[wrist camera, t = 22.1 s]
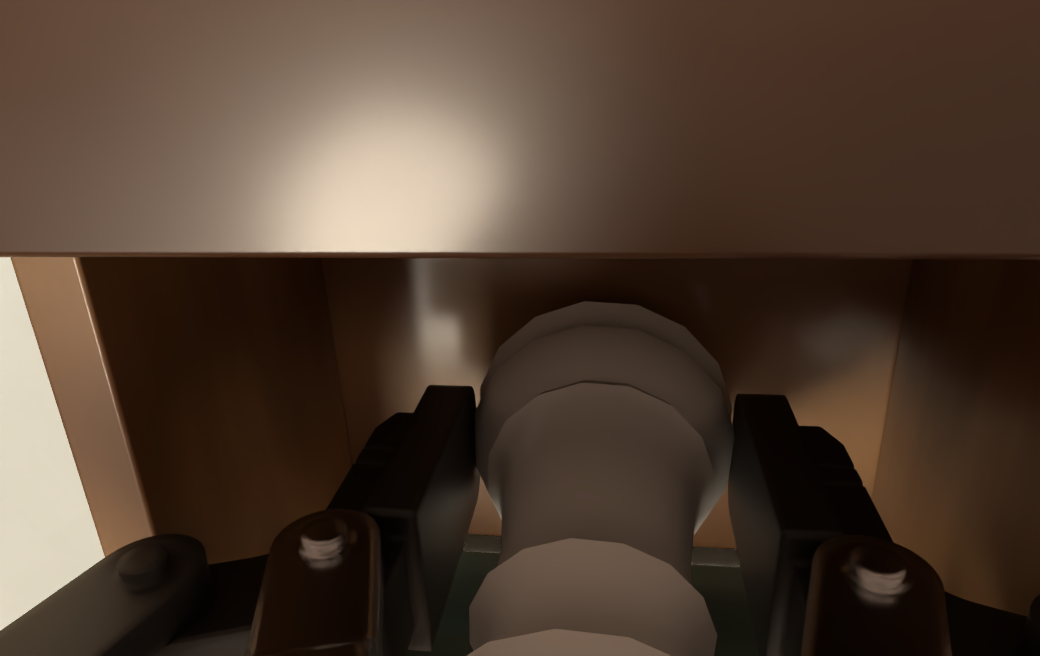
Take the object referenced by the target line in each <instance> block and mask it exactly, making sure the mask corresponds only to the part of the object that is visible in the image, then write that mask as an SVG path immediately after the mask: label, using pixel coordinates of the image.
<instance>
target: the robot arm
mask: <svg viewBox="0 0 1040 656" xmlns="http://www.w3.org/2000/svg"><path fill="white" fill-rule="evenodd" d="M475 411H476V399H475V392H474V389H473V387H472V386H455V385H429V386H428V387H427V388H426V390H425V392H424V394H423V396H422V398H421V400H420V401H419V403H418V405H417V407H416V409H415V411H414V413H407V412H397V413H395V414H394V415H393V416H391V417H390V418H388V419H387V420H386V421H384V422H383V423H381V424H380V425H379V426H377V427H376V428H375V430H374V431H373V433H372V435H371V436H370V438H369V440H368V441H367V443H366V444H365V449H362V451H361V453H360V454H359V456H358V458H357V459H356V464H353V466H352V467H351V469H350V471H349V472H348V474H347V476H346V477H345V479H344V481H343V482H342V484H341V486H340V487H339V489H338V490H337V492H336V494H335V495H334V497H333V499H332V500H331V502H330V504H329V505H328V507H327V509H326V510H322V511H318V512H315V513H311V514H309V515H306V516H303V517H301V518H299V519H297V520H295V521H294V522H292V523H291V524H289V525H288V526H286V527H285V528H284V529H283V530H282V531H281V532H280V533H279V534H278V535H277V536H276V538H275V539H274V541H273V542H272V545H271V547H270V551H269V554H265V555H261V556H257V557H252V558H246V559H240V560H234V561H228V562H222V563H216V564H210V565H209V564H208V560H207V556H206V552H205V548H204V546H203V545H202V543H201V542H200V541H198V540H197V539H195V538H193V537H191V536H187V535H183V534H163V535H156V536H152V537H147V538H144V539H141V540H138V541H135V542H132V543H130V544H128V545H125V546H123V547H122V548H120V549H118V550H116V551H114V552H113V553H111V554H110V555H108V556H107V557H105V558H104V559H102V560H101V561H99V562H98V563H97V564H95V565H94V566H92V567H91V568H89V569H88V570H87V571H85V572H84V573H82V574H81V575H79V576H78V577H77V578H75V579H74V580H72V581H71V582H69V583H68V584H67V585H65V586H64V587H62V588H61V589H59V590H58V591H57V592H55V593H54V594H52V595H51V596H50V597H48V598H47V599H45V600H44V601H42V602H41V603H40V604H38V605H37V606H35V607H34V608H32V609H31V610H30V611H28V612H27V613H25V614H24V615H22V616H21V617H20V618H18V619H17V620H15V621H14V622H12V623H11V624H10V625H8V626H7V627H5V628H4V629H2V630H1V631H0V656H406V653H407V650H417V651H431V652H432V648H433V645H434V642H435V638H436V635H437V632H438V629H439V625H440V622H441V619H442V615H443V612H444V609H445V606H446V602H447V599H448V596H449V592H450V589H451V586H452V583H453V579H454V576H455V573H456V569H457V566H458V563H459V560H460V556H461V553H462V550H463V546H464V543H465V540H466V537H467V533H468V530H469V527H470V523H471V520H472V517H473V514H474V510H475V507H476V504H477V500H478V494H479V486H480V473H479V471H478V469H477V466H476V453H475ZM732 425H733V428H734V444H733V451H732V458H731V465H730V471H729V478H728V505H729V514H730V519H731V524H732V529H733V533H734V538H735V543H736V548H737V553H738V557H739V562H740V567H741V572H742V577H743V581H744V586H745V591H746V596H747V601H748V605H749V610H750V615H751V620H752V624H753V629H754V634H755V639H756V644H757V648H758V653H759V656H1040V594H1039V595H1038V596H1037V597H1036V598H1035V599H1034V600H1033V602H1032V604H1031V606H1030V609H1029V613H1028V616H1027V617H1026V616H1023V615H1019V614H1015V613H1012V612H1008V611H1004V610H1000V609H997V608H993V607H989V606H986V605H982V604H978V603H975V602H972V601H968V600H965V599H962V598H960V597H957V596H955V595H952V594H950V593H948V592H946V591H944V586H943V582H942V580H941V578H940V576H939V575H938V573H937V572H936V571H935V569H934V568H933V567H932V566H931V565H930V564H929V563H928V562H927V561H926V560H924V559H923V558H922V557H920V556H919V555H918V554H916V553H914V552H913V551H911V550H909V549H907V548H905V547H903V546H901V545H899V544H896V543H894V542H893V540H892V538H891V536H890V534H889V532H888V530H887V529H886V527H885V525H884V523H883V521H882V519H881V517H880V515H879V513H878V511H877V509H876V507H875V505H874V503H873V501H872V499H871V497H870V495H869V493H868V491H867V489H866V487H863V482H862V480H861V478H860V476H859V474H858V472H857V470H856V469H854V464H853V462H852V460H851V458H850V456H849V454H848V452H847V450H846V448H845V446H844V445H843V444H842V443H841V442H840V441H838V440H837V439H836V438H835V437H833V436H832V435H831V434H829V433H828V432H827V431H826V430H824V429H823V428H822V427H821V426H799V425H798V423H797V420H796V418H795V416H794V413H793V411H792V409H791V406H790V404H789V402H788V399H787V397H786V396H785V395H769V394H737V395H736V398H735V403H734V413H733V424H732Z"/></svg>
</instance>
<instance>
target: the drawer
mask: <svg viewBox="0 0 1040 656" xmlns="http://www.w3.org/2000/svg"><path fill="white" fill-rule="evenodd" d="M11 260H12V264H13V267H14V270H15V273H16V276H17V279H18V283H19V286H20V289H21V292H22V295H23V298H24V302H25V305H26V308H27V311H28V314H29V317H30V321H31V324H32V327H33V330H34V333H35V336H36V340H37V343H38V346H39V349H40V352H41V355H42V359H43V362H44V365H45V368H46V371H47V374H48V378H49V381H50V384H51V387H52V390H53V393H54V397H55V400H56V403H57V406H58V409H59V412H60V416H61V419H62V422H63V425H64V428H65V431H66V435H67V438H68V441H69V444H70V447H71V450H72V454H73V457H74V460H75V463H76V466H77V470H78V473H79V476H80V479H81V482H82V485H83V489H84V492H85V495H86V498H87V501H88V504H89V508H90V511H91V514H92V517H93V520H94V523H95V527H96V530H97V533H98V536H99V539H100V542H101V546H102V549H103V552H104V555H105V557H107V556H108V555H110V554H111V553H113V552H114V551H116V550H118V549H120V548H122V547H123V546H125V545H128V544H130V543H132V542H135V541H138V540H141V539H144V538H147V537H152V536H156V535H163V534H183V535H187V536H191V537H193V538H195V539H197V540H198V541H200V542H201V543H202V545H203V546H204V548H205V552H206V556H207V560H208V564H209V565H210V564H216V563H222V562H228V561H234V560H240V559H246V558H252V557H257V556H261V555H265V554H269V551H270V547H271V545H272V542H273V541H274V539H275V538H276V536H277V535H278V534H279V533H280V532H281V531H282V530H283V529H284V528H285V527H286V526H288V525H289V524H291V523H292V522H294V521H295V520H297V519H299V518H301V517H303V516H306V515H309V514H311V513H315V512H318V511H322V510H326V509H327V507H328V505H329V504H330V502H331V500H332V499H333V497H334V495H335V494H336V492H337V490H338V489H339V487H340V486H341V484H342V482H343V481H344V479H345V477H346V476H347V474H348V472H349V471H350V469H351V467H352V466H353V464H356V459H357V458H358V456H359V454H360V453H361V451H362V449H365V444H366V443H367V441H368V440H369V438H370V436H371V435H372V433H373V431H374V430H375V428H376V427H377V426H379V425H380V424H381V423H383V422H384V421H386V420H387V419H388V418H390V417H391V416H393V415H394V414H395V413H397V412H407V413H414V411H415V409H416V407H417V405H418V403H419V401H420V400H421V398H422V396H423V394H424V392H425V390H426V388H427V387H428V386H429V385H455V386H472V387H473V389H474V392H475V399H476V408H477V406H478V404H479V402H480V386H481V384H482V382H483V380H484V378H485V376H486V374H487V372H488V370H489V367H490V365H491V363H492V361H493V359H494V357H495V355H496V353H497V351H498V348H499V347H500V346H501V345H502V344H504V343H505V342H506V341H507V340H508V339H509V338H511V337H512V336H513V335H514V334H515V333H517V332H518V331H519V330H520V329H521V328H523V327H524V326H525V325H526V324H527V323H529V322H530V321H531V320H532V319H533V318H534V317H536V316H539V315H542V314H545V313H549V312H552V311H555V310H558V309H561V308H565V307H568V306H571V305H574V304H577V303H580V302H584V301H588V302H603V303H618V304H634V305H639V306H641V307H643V308H645V309H648V310H650V311H652V312H654V313H656V314H658V315H661V316H663V317H665V318H667V319H669V320H671V321H674V322H676V323H678V324H680V325H682V326H684V327H686V328H687V330H688V331H689V332H690V333H691V334H692V335H693V336H694V337H695V338H696V339H697V340H698V342H699V343H700V344H701V345H702V346H703V347H704V348H705V349H706V350H707V351H708V352H709V354H710V355H711V356H712V357H713V358H714V359H715V360H716V361H717V362H718V363H719V366H720V370H721V373H722V376H723V379H724V382H725V385H726V388H727V392H728V395H729V398H730V401H731V404H732V414H731V422H732V424H733V413H734V403H735V398H736V395H737V394H769V395H785V396H786V397H787V399H788V402H789V404H790V406H791V409H792V411H793V413H794V416H795V418H796V420H797V423H798V425H799V426H821V427H822V428H823V429H824V430H826V431H827V432H828V433H829V434H831V435H832V436H833V437H835V438H836V439H837V440H838V441H840V442H841V443H842V444H843V445H844V446H845V448H846V450H847V452H848V454H849V456H850V458H851V460H852V462H853V464H854V469H856V470H857V472H858V474H859V476H860V478H861V480H862V482H863V487H866V489H867V491H868V493H869V495H870V497H871V499H872V501H873V503H874V505H875V507H876V509H877V511H878V513H879V515H880V517H881V519H882V521H883V523H884V525H885V527H886V529H887V530H888V532H889V534H890V536H891V538H892V540H893V542H894V543H896V544H899V545H901V546H903V547H905V548H907V549H909V550H911V551H913V552H914V553H916V554H918V555H919V556H920V557H922V558H923V559H924V560H926V561H927V562H928V563H929V564H930V565H931V566H932V567H933V568H934V569H935V571H936V572H937V573H938V575H939V576H940V578H941V580H942V582H943V586H944V591H946V592H948V593H950V594H952V595H955V596H957V597H960V598H962V599H965V600H968V601H972V602H975V603H978V604H982V605H986V606H989V607H993V608H997V609H1000V610H1004V611H1008V612H1012V613H1015V614H1019V615H1023V616H1026V617H1027V616H1028V613H1029V609H1030V606H1031V604H1032V602H1033V600H1034V599H1035V598H1036V597H1037V596H1038V595H1039V594H1040V260H977V259H574V258H171V257H11ZM501 529H502V520H501V518H500V516H499V514H498V511H497V509H496V507H495V506H494V504H493V501H492V499H491V497H490V495H489V493H488V491H487V489H486V486H485V484H484V482H483V480H482V478H481V476H480V486H479V494H478V500H477V504H476V507H475V510H474V514H473V517H472V520H471V523H470V527H469V530H468V533H467V534H473V535H491V536H501ZM693 546H694V547H712V548H730V549H737V548H736V543H735V538H734V533H733V529H732V524H731V519H730V514H729V505H728V482H727V485H726V489H725V491H724V493H723V494H722V496H721V497H720V498H719V500H718V501H717V503H716V504H715V506H714V507H713V509H712V510H711V511H710V513H709V515H708V516H707V518H706V519H705V521H704V522H703V523H702V525H701V526H700V528H699V529H698V531H697V532H696V534H695V535H694V537H693ZM499 557H500V553H484V552H467V551H462V553H461V556H460V560H459V563H458V566H457V569H456V573H455V576H454V579H453V583H452V586H451V589H450V592H449V596H448V599H447V602H446V606H445V609H444V612H443V615H442V619H441V622H440V625H439V629H438V632H437V635H436V638H435V642H434V645H433V648H432V652H431V651H417V650H407V653H406V656H467V655H468V654H470V653H472V652H473V651H474V650H473V648H472V647H471V645H470V623H469V606H470V605H471V603H472V601H473V599H474V597H475V596H476V594H477V592H478V590H479V588H480V586H481V585H482V583H483V581H484V579H485V577H486V576H487V574H488V573H489V572H490V571H492V570H493V569H495V568H496V567H497V565H498V561H499ZM691 579H692V586H693V587H694V588H695V589H696V590H697V591H698V592H699V593H700V594H701V595H702V596H703V598H704V600H705V603H706V606H707V609H708V611H709V614H710V617H711V619H712V622H713V625H714V627H715V630H716V633H717V640H716V646H715V652H714V656H759V653H758V648H757V644H756V639H755V634H754V629H753V624H752V620H751V615H750V610H749V605H748V601H747V596H746V591H745V586H744V581H743V577H742V572H741V567H727V566H710V565H692V564H691Z"/></svg>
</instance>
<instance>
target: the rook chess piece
mask: <svg viewBox="0 0 1040 656" xmlns="http://www.w3.org/2000/svg"><path fill="white" fill-rule="evenodd" d="M731 414H732V404H731V401H730V398H729V395H728V392H727V388H726V385H725V382H724V379H723V376H722V373H721V370H720V366H719V363H718V362H717V361H716V360H715V359H714V358H713V357H712V356H711V355H710V354H709V352H708V351H707V350H706V349H705V348H704V347H703V346H702V345H701V344H700V343H699V342H698V340H697V339H696V338H695V337H694V336H693V335H692V334H691V333H690V332H689V331H688V330H687V328H686V327H684V326H682V325H680V324H678V323H676V322H674V321H671V320H669V319H667V318H665V317H663V316H661V315H658V314H656V313H654V312H652V311H650V310H648V309H645V308H643V307H641V306H639V305H634V304H618V303H603V302H588V301H584V302H580V303H577V304H574V305H571V306H568V307H565V308H561V309H558V310H555V311H552V312H549V313H545V314H542V315H539V316H536V317H534V318H533V319H532V320H531V321H530V322H529V323H527V324H526V325H525V326H524V327H523V328H521V329H520V330H519V331H518V332H517V333H515V334H514V335H513V336H512V337H511V338H509V339H508V340H507V341H506V342H505V343H504V344H502V345H501V346H500V347H499V348H498V351H497V353H496V355H495V357H494V359H493V361H492V363H491V365H490V367H489V370H488V372H487V374H486V376H485V378H484V380H483V382H482V384H481V386H480V402H479V404H478V406H477V408H476V411H475V453H476V466H477V469H478V471H479V473H480V476H481V478H482V480H483V482H484V484H485V486H486V489H487V491H488V493H489V495H490V497H491V499H492V501H493V504H494V506H495V507H496V509H497V511H498V514H499V516H500V518H501V520H502V529H501V553H500V557H499V561H498V565H497V567H496V568H495V569H493V570H492V571H490V572H489V573H488V574H487V576H486V577H485V579H484V581H483V583H482V585H481V586H480V588H479V590H478V592H477V594H476V596H475V597H474V599H473V601H472V603H471V605H470V606H469V623H470V645H471V647H472V648H473V650H474V651H473V652H472V653H470V654H468V655H467V656H714V652H715V646H716V640H717V633H716V630H715V627H714V625H713V622H712V619H711V617H710V614H709V611H708V609H707V606H706V603H705V600H704V598H703V596H702V595H701V594H700V593H699V592H698V591H697V590H696V589H695V588H694V587H693V586H692V579H691V562H692V549H693V537H694V535H695V534H696V532H697V531H698V529H699V528H700V526H701V525H702V523H703V522H704V521H705V519H706V518H707V516H708V515H709V513H710V511H711V510H712V509H713V507H714V506H715V504H716V503H717V501H718V500H719V498H720V497H721V496H722V494H723V493H724V491H725V489H726V485H727V482H728V478H729V471H730V465H731V458H732V451H733V444H734V428H733V425H732V422H731Z"/></svg>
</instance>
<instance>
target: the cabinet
mask: <svg viewBox="0 0 1040 656" xmlns="http://www.w3.org/2000/svg"><path fill="white" fill-rule="evenodd" d="M0 257H171V258H574V259H977V260H1040V0H0Z"/></svg>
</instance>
